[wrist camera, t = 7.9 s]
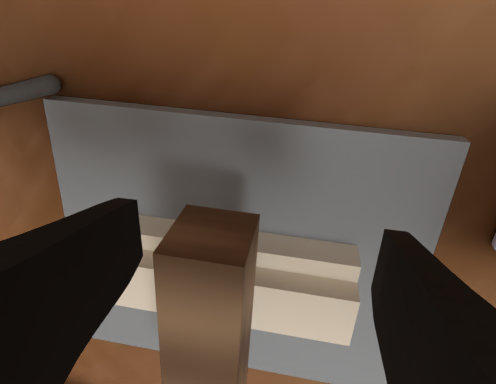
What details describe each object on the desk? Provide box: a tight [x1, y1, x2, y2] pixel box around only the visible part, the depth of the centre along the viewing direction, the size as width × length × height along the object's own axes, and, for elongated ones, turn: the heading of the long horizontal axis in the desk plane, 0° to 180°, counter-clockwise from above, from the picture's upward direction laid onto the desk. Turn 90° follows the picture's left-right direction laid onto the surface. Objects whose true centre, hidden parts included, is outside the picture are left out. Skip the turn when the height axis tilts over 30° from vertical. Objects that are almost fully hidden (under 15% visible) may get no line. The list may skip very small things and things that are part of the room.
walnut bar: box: [153, 204, 260, 384], centre depth 18 cm, size 12×4×4 cm, turn 177°
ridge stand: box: [43, 95, 471, 384], centre depth 22 cm, size 22×18×4 cm
